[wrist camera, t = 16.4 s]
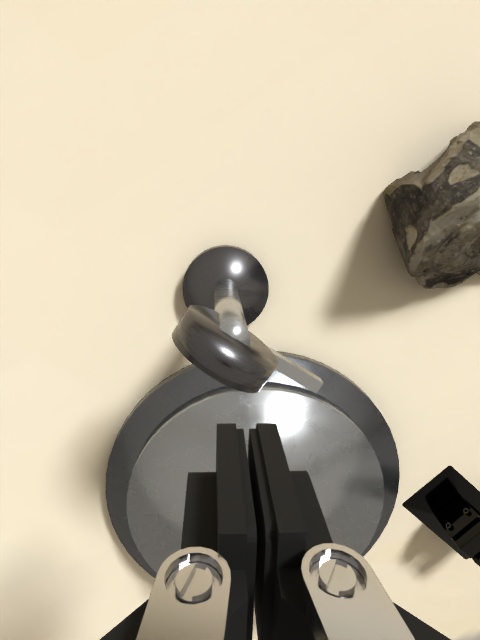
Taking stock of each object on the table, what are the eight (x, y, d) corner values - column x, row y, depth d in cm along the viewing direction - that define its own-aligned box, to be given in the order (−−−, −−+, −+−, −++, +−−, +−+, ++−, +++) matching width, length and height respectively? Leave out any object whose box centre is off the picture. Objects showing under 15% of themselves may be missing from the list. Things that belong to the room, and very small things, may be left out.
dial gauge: (316, 295, 30) (395, 370, 17) (271, 360, 31) (312, 478, 18) (211, 228, 28) (209, 252, 15) (168, 300, 30) (130, 381, 16)
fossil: (428, 321, 31) (464, 304, 21) (353, 229, 33) (354, 176, 23) (561, 231, 29) (666, 168, 19) (473, 140, 31) (528, 42, 21)
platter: (261, 328, 29) (274, 362, 23) (424, 491, 34) (471, 555, 28) (77, 498, 32) (44, 569, 26) (250, 626, 37) (257, 711, 31)
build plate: (381, 496, 36) (404, 536, 32) (444, 441, 35) (477, 475, 31) (465, 567, 39) (497, 613, 35) (526, 518, 38) (567, 560, 34)
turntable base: (451, 439, 34) (458, 446, 33) (290, 629, 39) (291, 640, 38) (206, 291, 30) (206, 294, 29) (57, 528, 35) (53, 537, 34)
